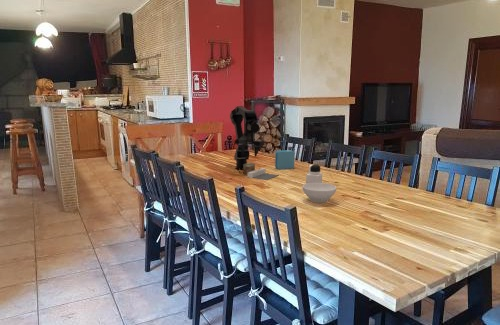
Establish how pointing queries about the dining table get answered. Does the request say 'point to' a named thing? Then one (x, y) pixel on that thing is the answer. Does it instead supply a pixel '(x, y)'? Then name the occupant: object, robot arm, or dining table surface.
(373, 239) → the dining table surface
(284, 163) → the data package
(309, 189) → the bowl
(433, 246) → the dining table surface
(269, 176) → the mat
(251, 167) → the block
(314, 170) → the medicine bottle
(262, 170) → the rail
